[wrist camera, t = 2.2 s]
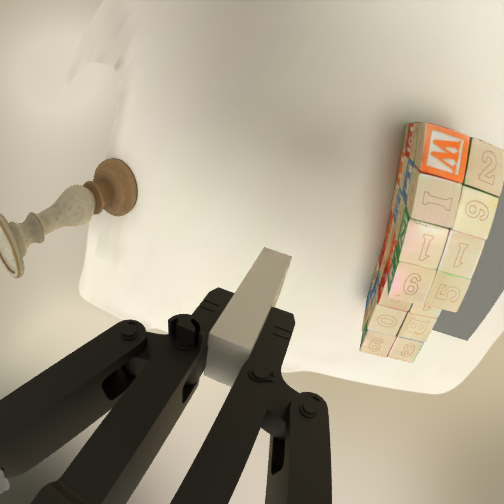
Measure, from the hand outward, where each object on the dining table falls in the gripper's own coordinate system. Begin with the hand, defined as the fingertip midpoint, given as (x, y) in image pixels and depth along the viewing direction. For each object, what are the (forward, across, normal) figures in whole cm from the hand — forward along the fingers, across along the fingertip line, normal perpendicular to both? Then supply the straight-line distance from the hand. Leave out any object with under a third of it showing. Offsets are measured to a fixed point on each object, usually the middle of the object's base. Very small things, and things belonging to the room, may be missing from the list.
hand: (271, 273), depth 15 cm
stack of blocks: (+17, +12, 0) cm, 20 cm away
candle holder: (+17, -27, -6) cm, 33 cm away
